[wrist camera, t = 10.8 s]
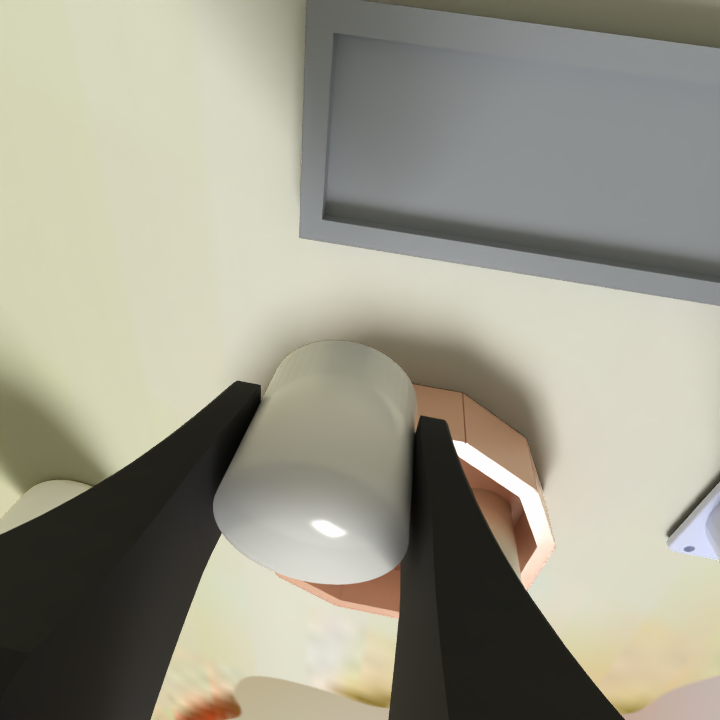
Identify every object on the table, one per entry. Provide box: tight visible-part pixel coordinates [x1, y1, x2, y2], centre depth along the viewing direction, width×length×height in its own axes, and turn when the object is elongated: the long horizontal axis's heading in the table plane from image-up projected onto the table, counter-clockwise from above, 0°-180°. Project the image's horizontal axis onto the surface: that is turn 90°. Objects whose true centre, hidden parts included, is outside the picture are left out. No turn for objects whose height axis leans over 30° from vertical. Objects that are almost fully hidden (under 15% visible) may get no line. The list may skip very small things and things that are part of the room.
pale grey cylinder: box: [213, 340, 417, 585], centre depth 11 cm, size 4×4×4 cm
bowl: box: [275, 384, 556, 619], centre depth 25 cm, size 16×16×3 cm
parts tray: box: [299, 0, 720, 306], centre depth 15 cm, size 17×7×1 cm, turn 84°
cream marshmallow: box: [471, 488, 522, 583], centre depth 23 cm, size 4×4×4 cm
